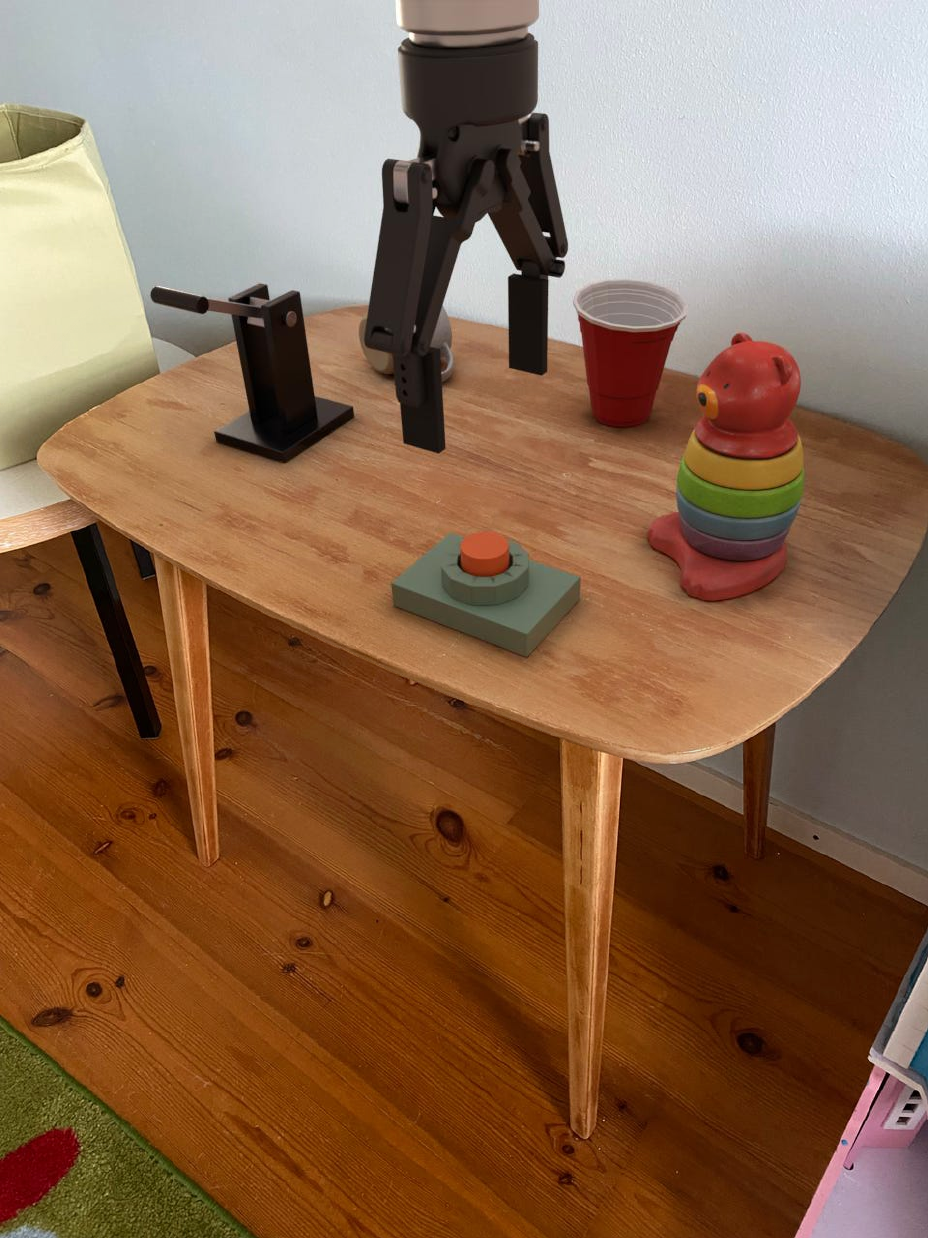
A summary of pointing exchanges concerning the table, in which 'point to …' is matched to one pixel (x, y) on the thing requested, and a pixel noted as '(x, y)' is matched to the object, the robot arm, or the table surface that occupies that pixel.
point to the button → (484, 554)
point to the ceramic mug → (439, 340)
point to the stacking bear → (737, 474)
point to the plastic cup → (626, 345)
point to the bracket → (278, 383)
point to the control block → (488, 596)
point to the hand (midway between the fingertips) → (479, 405)
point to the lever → (208, 304)
